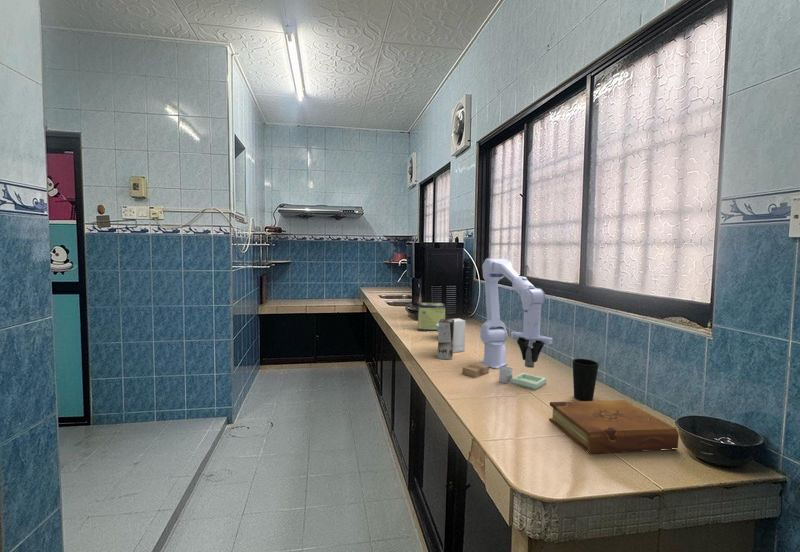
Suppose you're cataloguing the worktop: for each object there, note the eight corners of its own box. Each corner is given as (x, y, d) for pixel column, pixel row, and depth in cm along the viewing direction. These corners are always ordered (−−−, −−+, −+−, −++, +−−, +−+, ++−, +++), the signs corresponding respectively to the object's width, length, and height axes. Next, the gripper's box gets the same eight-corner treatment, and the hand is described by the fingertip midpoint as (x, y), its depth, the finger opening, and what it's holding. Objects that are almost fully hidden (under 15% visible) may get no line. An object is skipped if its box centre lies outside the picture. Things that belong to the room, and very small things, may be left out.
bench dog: (504, 379, 143) (504, 366, 143) (511, 381, 141) (512, 367, 141) (499, 381, 140) (499, 368, 140) (506, 383, 138) (507, 370, 138)
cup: (585, 404, 121) (588, 366, 121) (565, 395, 128) (567, 360, 127) (601, 400, 125) (603, 363, 124) (580, 392, 132) (583, 357, 131)
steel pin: (527, 364, 141) (528, 345, 140) (535, 366, 138) (536, 347, 138) (523, 366, 138) (523, 346, 138) (531, 368, 136) (532, 348, 136)
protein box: (445, 332, 224) (445, 305, 223) (418, 331, 224) (418, 304, 223) (443, 328, 234) (444, 303, 233) (417, 327, 234) (418, 302, 233)
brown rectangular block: (475, 370, 154) (475, 362, 154) (488, 374, 150) (488, 366, 150) (462, 375, 148) (462, 367, 148) (475, 379, 144) (475, 371, 144)
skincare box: (457, 348, 187) (458, 318, 186) (465, 351, 181) (466, 320, 180) (443, 350, 183) (444, 319, 182) (450, 353, 178) (451, 321, 177)
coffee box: (452, 360, 167) (453, 322, 166) (437, 358, 168) (438, 321, 167) (453, 354, 176) (454, 319, 175) (439, 353, 177) (440, 318, 176)
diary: (589, 457, 91) (590, 433, 90) (548, 422, 109) (549, 402, 109) (677, 452, 94) (679, 429, 93) (623, 418, 112) (624, 399, 112)
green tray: (522, 377, 145) (522, 372, 145) (546, 383, 139) (546, 378, 139) (511, 383, 139) (511, 378, 138) (535, 390, 133) (536, 384, 132)
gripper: (507, 321, 139) (505, 358, 140) (547, 327, 130) (545, 367, 130) (516, 318, 145) (514, 354, 145) (555, 324, 135) (553, 363, 136)
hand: (529, 360), depth 138 cm, fingers closed on steel pin, 3 cm apart
